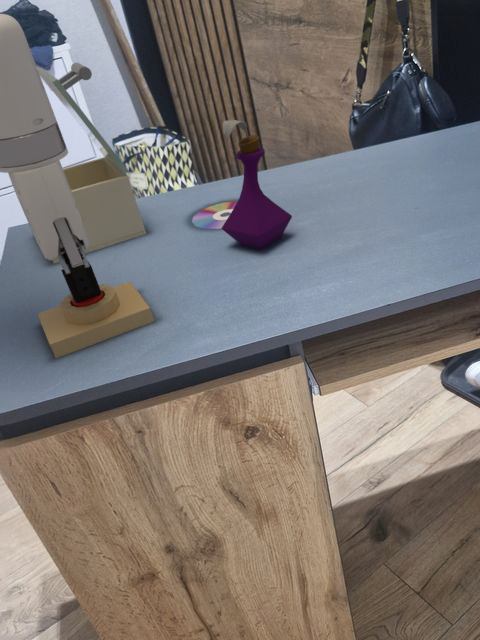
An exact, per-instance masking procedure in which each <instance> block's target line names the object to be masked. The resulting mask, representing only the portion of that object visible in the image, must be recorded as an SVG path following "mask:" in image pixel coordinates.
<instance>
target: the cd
mask: <svg viewBox="0 0 480 640" xmlns="http://www.w3.org/2000/svg"><path fill="white" fill-rule="evenodd" d="M237 202H238V200H237V201H236V200H234V201H227V202H220V203H217V204H214V205H210V206H208V207H205V208H203V209H202V210H201V209H200V211H198V212H197V213H195V214H194V215H193V217H192V219H191V223H192V224H193V226H194V227H197V228H198V229H199V228H200V229H203V230H220V229H221V230H222V227H223V225H224V223H225V222H226V220H227V219H228V217H229V216H230V214H231V212H232V211H233V209H234V207H235V205H236V203H237ZM226 213H228V214H229V215H226V216H221V215H223V214H226Z"/></svg>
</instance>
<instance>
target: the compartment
mask: <svg viewBox="0 0 480 640" xmlns="http://www.w3.org/2000/svg"><path fill="white" fill-rule="evenodd" d="M62 168H63V171H64V173H65V176H66V178H67V181H68V184H69V186H70V189H71V192H72V194H73V197H74V200H75V202H76V205H77V208H78V211H79V214H80V217H81V219H82V222H83V225H84V228H85V232H86V235H87V238H88V241H89V246H88V247H87V249H85V248H84V247H83V250H84V253H85V254H88V253H92V252H95V251H97V250H101V249H103V248H107V247H110V246H114V245H116V244H119V243H122V242H125V241H128V240H131V239H135V238H137V237H141V236H144V235H147V230H146V228H145V224H144V221H143V218H142V215H141V212H140V210H139V209H140V208H139V207H138V204H137V200H136V196H135V194H134V190H133V187H132V184H131V182H130V178H129V175H127V173H126V174H124V173H123V172H122V171H121V170H119V169H118V168H117V167H116V166H115V165H114V164H113V163H112V162H111V161H109V160H108V159H107V158H106V157H105V156H104V157H100V158H97V159H93V160H89V161H86V162H81V163H78V164H75V165H70V166H67V167H62ZM51 261H52V263H53V264H58V263H60V261H59V259H58V257H53V260H51Z"/></svg>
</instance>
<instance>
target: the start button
mask: <svg viewBox="0 0 480 640" xmlns="http://www.w3.org/2000/svg"><path fill="white" fill-rule="evenodd" d="M103 298H104V296H103V293H102V291H101V295H99V296H97V297H94V298H91V299H88V300H85V301H82V302H79V303H76V302H75V300H74V298H73V299H72V302H73V305H74V307H86V306H89V305H92V304H95V303H97V302H99V301H100V300H102V299H103Z"/></svg>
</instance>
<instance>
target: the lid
mask: <svg viewBox="0 0 480 640" xmlns="http://www.w3.org/2000/svg"><path fill="white" fill-rule="evenodd" d="M37 69H38V72H39V75H40V77H41V79H43V81H44V82H45V83H46V85H47V86H48V87H49V88H50V90H51V91H52V93H54V95H55V96H56V97H57V98H58V100H59V101H60V102H61V103H62V105H63V106H64V108H65V109H66V110H67V111H68V112H69V114H70V115H71V117H73V119H74V120H75V121H76V122H77V124H78V125H79V127H81V129H82V130H83V131H84V133H85V134H86V135H87V136H88V138H89V139H90V140H91V141H92V143H93V144H94V145H95V147H96V148H97V149H98V150H99V151H100V153H101V155H103V156H104V157H106V158H107V159H108V160H109V161H111V162H112V163H113V164H114V165H115V166H116V167H117V168H118V169H119V170H121V171H122V172H123V173H124V174H126V175H127V174H128V173H129V169H128V168H127V166H126V165H125V164H124V163H123V161H122V160H121V159H120V158H119V156H118V155H117V154H116V153H115V151H114V150H113V149H112V148H111V146H110V144H109V143H108V142H107V141H106V140H105V137H103V135H101V133H100V132H99V130H98V129H97V128H96V127H95V126H94V124H93V123H92V121H91V120H90V119H89V118H88V116H87V115H86V114H85V112H84V111H83V110H82V108H81V107H80V106H79V105H78V103H77V102H76V101H75V99H73V97H72V96H71V94H70V93H69V92H68V91H67V90H69V89H70V88H71V87H73V86H74V85H76V84H77V83H78V82H80V81H82V80H83V81H89V80H90V79H92V75H93V72H92V70H91V69H90V68H89V67H87V66H85V65H83V64H81V63H80V62H74V63H72V64H71V66H70V71H68V72H67V73H66V74H64V75H62V76H61V77H60V78H57V77H56V76H53V75H52V74H51V73H49V72H48V71H47V70H45V69H44V68H43V67H39V68H37Z"/></svg>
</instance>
